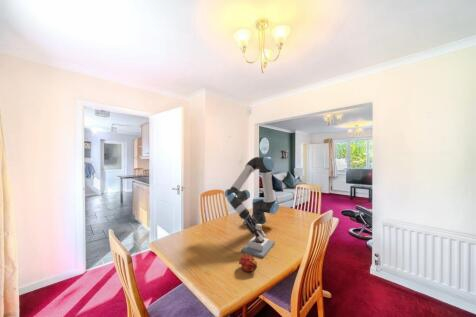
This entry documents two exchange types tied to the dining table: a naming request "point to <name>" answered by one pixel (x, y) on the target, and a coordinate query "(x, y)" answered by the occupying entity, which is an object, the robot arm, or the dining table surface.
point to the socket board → (258, 252)
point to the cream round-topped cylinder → (259, 229)
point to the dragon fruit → (248, 263)
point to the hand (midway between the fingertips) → (263, 238)
